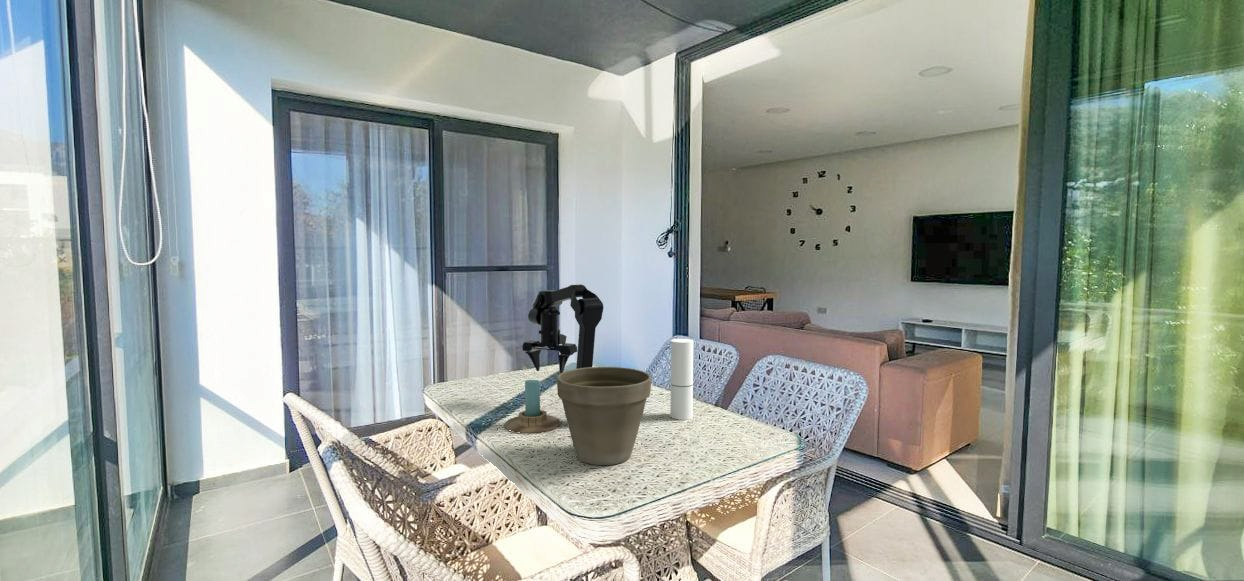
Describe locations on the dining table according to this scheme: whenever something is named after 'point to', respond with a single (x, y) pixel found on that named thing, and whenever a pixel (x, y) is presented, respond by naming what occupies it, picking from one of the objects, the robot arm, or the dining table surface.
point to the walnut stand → (532, 423)
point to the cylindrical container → (681, 379)
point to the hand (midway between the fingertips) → (549, 372)
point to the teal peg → (532, 398)
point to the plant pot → (603, 411)
